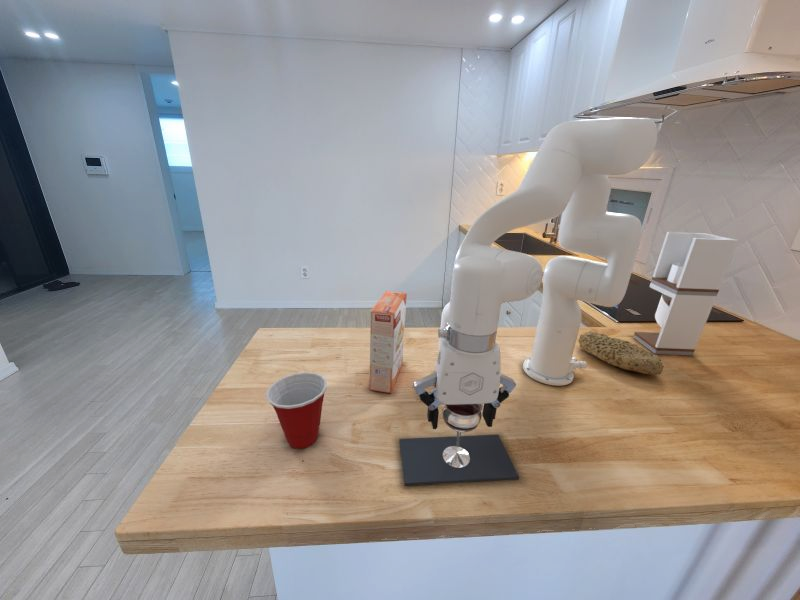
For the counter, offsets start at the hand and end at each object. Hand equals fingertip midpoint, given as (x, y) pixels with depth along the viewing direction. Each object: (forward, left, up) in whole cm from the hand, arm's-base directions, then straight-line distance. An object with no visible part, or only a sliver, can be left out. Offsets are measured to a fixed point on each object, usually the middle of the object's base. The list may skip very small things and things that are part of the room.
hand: (460, 422), depth 59 cm
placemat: (0, 0, -8) cm, 8 cm away
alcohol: (-6, -26, -9) cm, 28 cm away
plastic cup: (+29, -7, -9) cm, 31 cm away
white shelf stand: (-77, -40, -9) cm, 87 cm away
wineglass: (0, 0, -8) cm, 8 cm away
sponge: (-55, -31, -9) cm, 64 cm away
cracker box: (+11, -27, -9) cm, 30 cm away
